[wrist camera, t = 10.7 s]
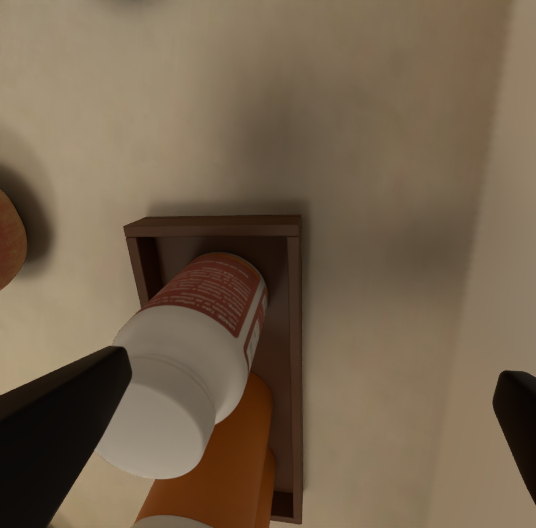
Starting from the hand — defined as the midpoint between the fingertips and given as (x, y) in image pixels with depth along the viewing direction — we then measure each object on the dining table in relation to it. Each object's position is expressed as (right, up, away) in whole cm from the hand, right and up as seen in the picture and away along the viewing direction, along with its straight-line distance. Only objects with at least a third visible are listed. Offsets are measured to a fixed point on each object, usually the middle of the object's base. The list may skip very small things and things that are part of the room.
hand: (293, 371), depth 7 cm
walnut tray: (-3, -6, +16) cm, 18 cm away
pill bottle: (-4, +1, +13) cm, 14 cm away
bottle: (-3, -8, +16) cm, 19 cm away
